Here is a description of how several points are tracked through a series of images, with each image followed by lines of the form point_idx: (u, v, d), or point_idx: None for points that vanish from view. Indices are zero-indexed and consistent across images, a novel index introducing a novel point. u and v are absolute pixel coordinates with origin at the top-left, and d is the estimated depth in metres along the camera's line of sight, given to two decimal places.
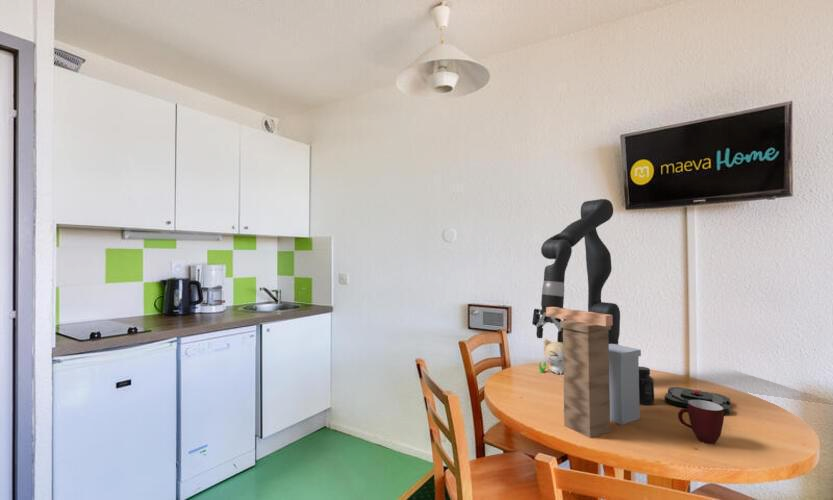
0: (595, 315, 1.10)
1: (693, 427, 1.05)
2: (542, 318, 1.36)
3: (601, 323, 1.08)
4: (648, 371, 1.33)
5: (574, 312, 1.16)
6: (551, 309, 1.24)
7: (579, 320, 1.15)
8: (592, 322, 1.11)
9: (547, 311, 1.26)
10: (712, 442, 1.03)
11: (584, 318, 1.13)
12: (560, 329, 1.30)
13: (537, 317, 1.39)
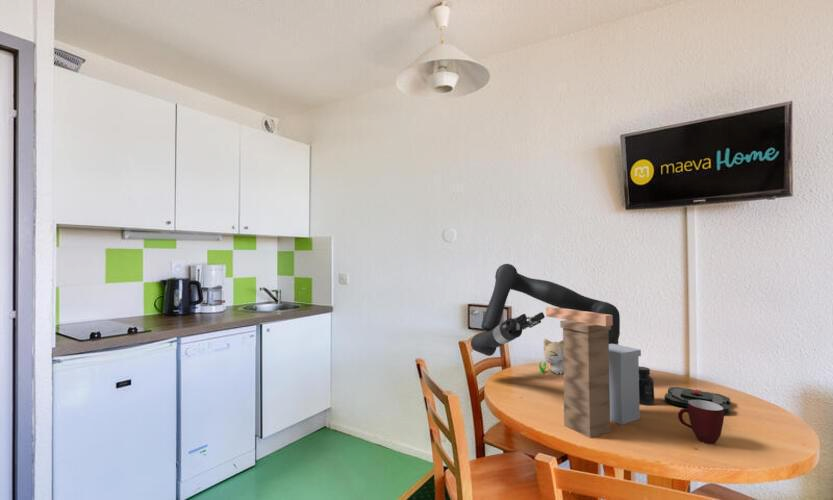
0: (595, 315, 1.10)
1: (693, 427, 1.05)
2: (528, 326, 1.39)
3: (601, 323, 1.08)
4: (648, 371, 1.33)
5: (574, 312, 1.16)
6: (551, 309, 1.24)
7: (579, 320, 1.15)
8: (592, 322, 1.11)
9: (547, 311, 1.26)
10: (712, 442, 1.03)
11: (584, 318, 1.13)
12: (517, 324, 1.33)
13: (533, 322, 1.41)
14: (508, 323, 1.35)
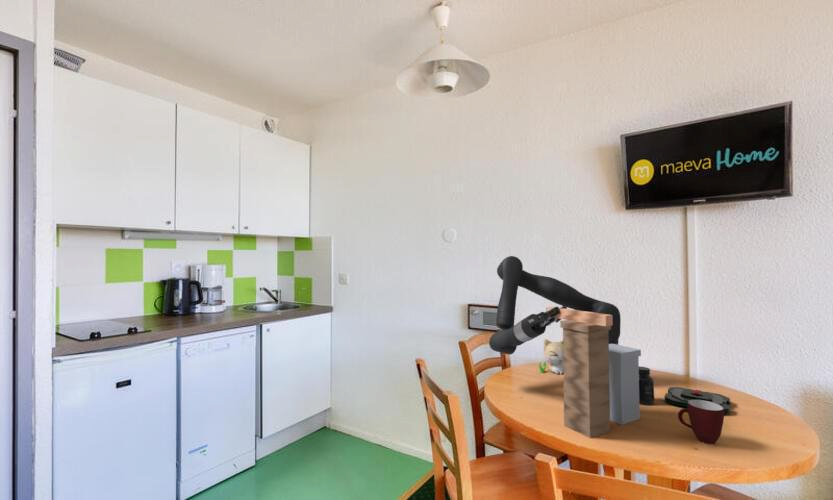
0: (595, 315, 1.10)
1: (693, 427, 1.05)
2: (551, 322, 1.28)
3: (601, 323, 1.08)
4: (648, 371, 1.33)
5: (574, 312, 1.16)
6: None
7: (579, 320, 1.15)
8: (592, 322, 1.11)
9: None
10: (712, 442, 1.03)
11: (584, 318, 1.13)
12: (549, 318, 1.24)
13: None
14: (537, 317, 1.25)
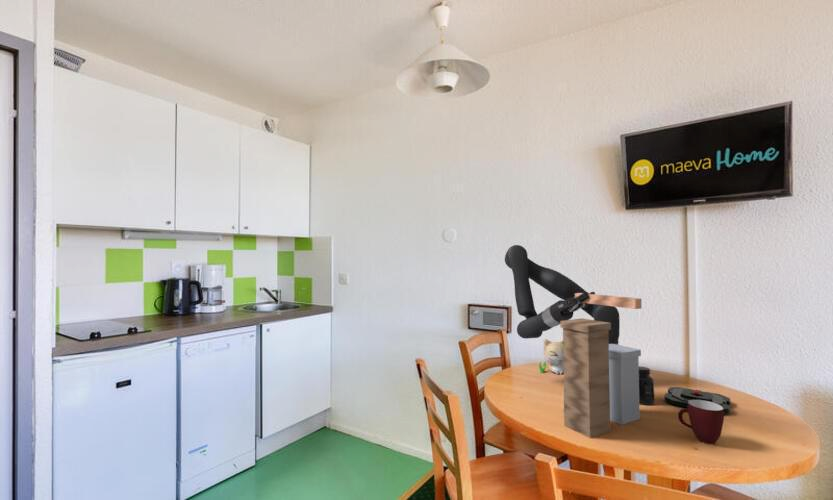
0: (625, 299, 1.17)
1: (693, 427, 1.05)
2: (579, 307, 1.36)
3: (631, 306, 1.16)
4: (648, 371, 1.33)
5: (603, 297, 1.24)
6: None
7: (608, 304, 1.22)
8: (622, 305, 1.18)
9: None
10: (712, 442, 1.03)
11: (613, 302, 1.21)
12: (578, 303, 1.31)
13: None
14: (567, 302, 1.33)
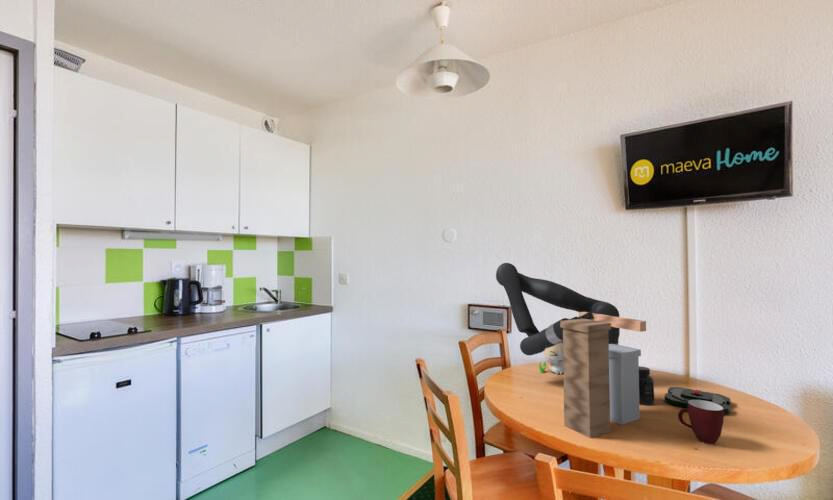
0: (629, 321, 1.17)
1: (693, 427, 1.05)
2: None
3: (635, 328, 1.15)
4: (648, 371, 1.33)
5: (608, 317, 1.24)
6: None
7: (613, 325, 1.22)
8: (626, 327, 1.18)
9: None
10: (712, 442, 1.03)
11: (618, 323, 1.20)
12: None
13: None
14: None
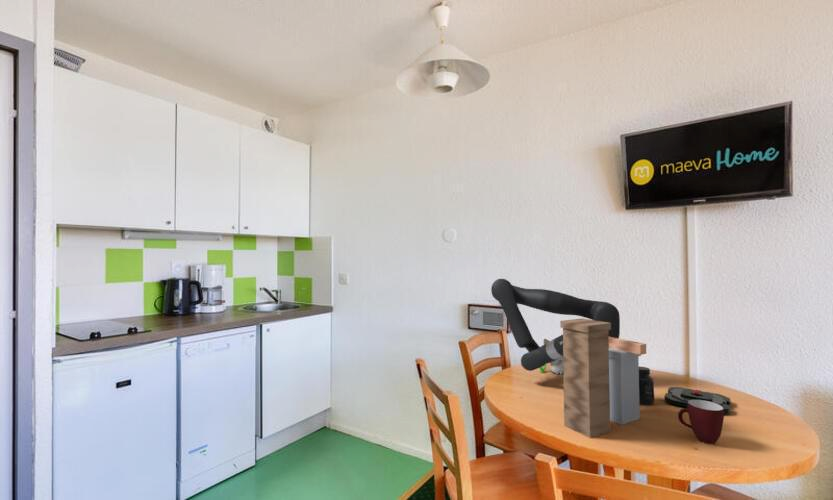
0: (629, 343, 1.17)
1: (693, 427, 1.05)
2: None
3: (635, 351, 1.15)
4: (648, 371, 1.33)
5: None
6: None
7: (613, 347, 1.22)
8: (626, 350, 1.18)
9: None
10: (712, 442, 1.03)
11: (618, 345, 1.20)
12: None
13: None
14: None
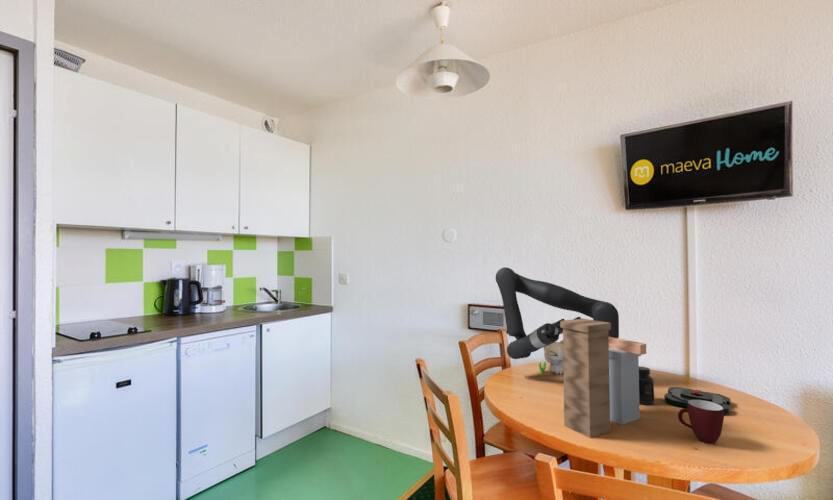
0: (629, 343, 1.17)
1: (693, 427, 1.05)
2: None
3: (635, 351, 1.15)
4: (648, 371, 1.33)
5: None
6: None
7: (613, 347, 1.22)
8: (626, 350, 1.18)
9: None
10: (712, 442, 1.03)
11: (618, 345, 1.20)
12: (556, 329, 1.38)
13: None
14: (547, 328, 1.40)
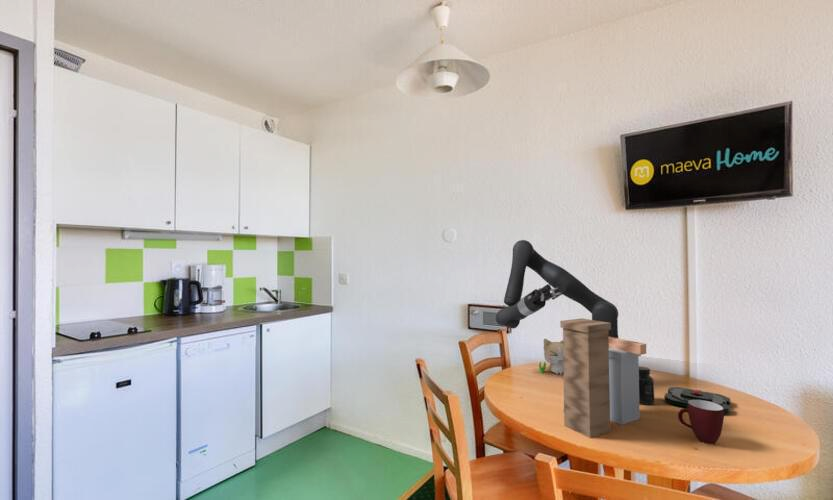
0: (629, 343, 1.17)
1: (693, 427, 1.05)
2: (551, 297, 1.49)
3: (635, 351, 1.15)
4: (648, 371, 1.33)
5: None
6: None
7: (613, 347, 1.22)
8: (626, 350, 1.18)
9: None
10: (712, 442, 1.03)
11: (618, 345, 1.20)
12: (541, 294, 1.43)
13: None
14: (533, 294, 1.45)
